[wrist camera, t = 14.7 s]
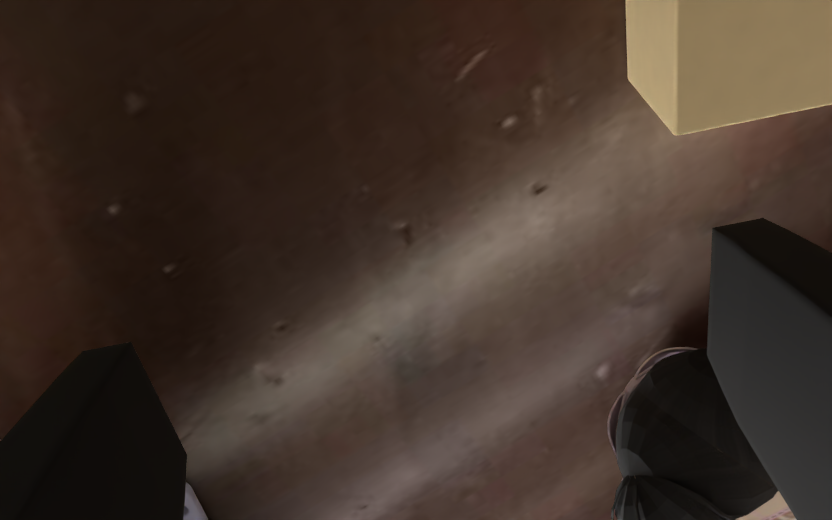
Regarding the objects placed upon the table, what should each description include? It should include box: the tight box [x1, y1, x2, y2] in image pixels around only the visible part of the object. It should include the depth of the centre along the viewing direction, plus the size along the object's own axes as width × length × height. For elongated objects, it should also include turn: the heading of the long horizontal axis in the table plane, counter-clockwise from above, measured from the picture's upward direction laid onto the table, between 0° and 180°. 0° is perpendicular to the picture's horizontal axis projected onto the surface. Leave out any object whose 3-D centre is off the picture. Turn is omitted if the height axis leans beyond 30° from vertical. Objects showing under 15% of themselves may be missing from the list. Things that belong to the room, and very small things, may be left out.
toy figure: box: [607, 347, 797, 520], centre depth 23 cm, size 7×6×15 cm
